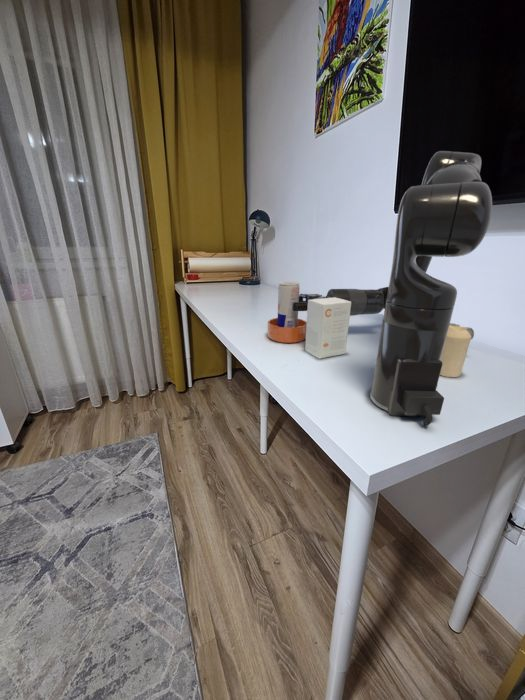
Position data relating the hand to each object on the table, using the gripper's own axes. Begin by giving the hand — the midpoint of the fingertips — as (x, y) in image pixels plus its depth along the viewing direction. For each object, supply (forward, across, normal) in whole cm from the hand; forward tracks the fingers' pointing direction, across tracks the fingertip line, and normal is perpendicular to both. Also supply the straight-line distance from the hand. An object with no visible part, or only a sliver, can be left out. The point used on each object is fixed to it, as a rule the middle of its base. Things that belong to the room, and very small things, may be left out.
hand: (289, 303), depth 79 cm
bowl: (0, 0, +10) cm, 10 cm away
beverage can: (0, 0, +10) cm, 10 cm away
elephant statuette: (-37, +17, +10) cm, 42 cm away
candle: (-29, +26, +10) cm, 40 cm away
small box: (-7, +12, +10) cm, 17 cm away
